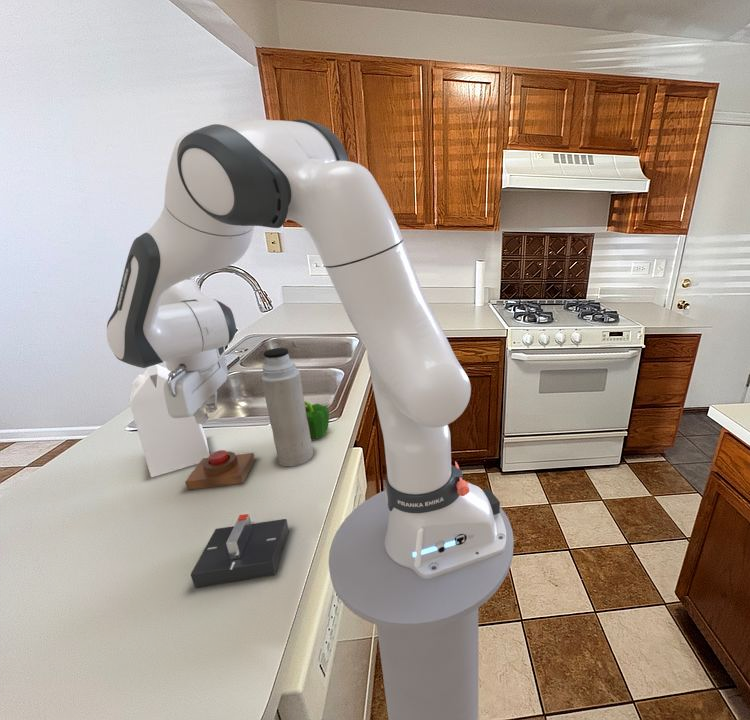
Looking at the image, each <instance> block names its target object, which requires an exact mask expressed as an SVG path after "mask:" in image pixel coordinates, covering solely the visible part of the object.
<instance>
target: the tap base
mask: <svg viewBox="0 0 750 720" xmlns="http://www.w3.org/2000/svg"><path fill="white" fill-rule="evenodd" d="M251 524H252V528H253V531H252V533H251V535H250V538H249V540H248V543H247V545H246V547H245V550H244V552H243V554H242V557H241V558H238V559H230V556H229V552H228V549H227V545H226V542H227V540H228V538H229V536H230V534H231V532H232V530H233V528H234V526H235V525H233V526H232V525H231V526H226V527H218V528H215V529H214V531H213V533H212V534H211V537H210V538H209V540H208V542H207V544H206V545H205V547H204V549H203V550H202V553H201V554H200V556H199V557H198V560H197V562H196V564H195V565H194V567H193V569H192V571H191V573H190V577H191V580H192V583H193V586H194V589H200V588H204V587H212V586H216V585H217V586H218V585H223V584H230V583H234V582H236V583H237V582H240V581H241V582H242V581H246V580H247V581H248V580H252V579H260V578H266V577H272V576H275V575H276V573H277V570H278V567H279V565H280V564H279V563H280V561H281V558H282V554H283V551H284V548H285V545H286V542H287V538H288V535H289V532H290V530H289V524H288V520H287V518H283V519H276V520H275V519H274V520H268V521H267V520H266V521H260V522H254V521H252V520H251Z"/></svg>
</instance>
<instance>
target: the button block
mask: <svg viewBox="0 0 750 720" xmlns="http://www.w3.org/2000/svg"><path fill="white" fill-rule="evenodd" d="M227 453H228V457H229V460H228V461H226V462H225V463H222V464H219V465H211V464H210V460H209V457H208V458H203V459H202V460H201V462H200V463H198V464H196V465H197V466H196V467H195V468H194V470H193V471H192V472H191V473H190V474H189V476H188V477H187V478H186V480H185V481H184V482H185V486H186V489H187V491H188V490H189V491H191V490H198V489H206V488H214V487H222V486H230V485H231V486H232V485H239V484H243V483H244V481H245V480H246V478H247V476H248V475H249V473H250V470H251V469H252V467H253V465H254V463H255V461H256V459H255V454H254V452H248V453H239V454H236V452H233V451H227Z"/></svg>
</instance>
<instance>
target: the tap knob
mask: <svg viewBox="0 0 750 720" xmlns="http://www.w3.org/2000/svg"><path fill="white" fill-rule="evenodd" d="M251 522H252V520H251V517H250V514H249V513H246V514H239V516H238V517H237V520H236V521H235V524H234V525H233V526H234V528H233V530H232V532H231V534H230V536H229V538H228V540H227V542H226V545H227V549H228V552H229V556H230V559H238V558H241V557H242V554H243V552H244V550H245V547H246V545H247V543H248V540H249V538H250V535H251V533H252V531H253V528H252V524H251Z"/></svg>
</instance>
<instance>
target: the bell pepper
mask: <svg viewBox="0 0 750 720" xmlns="http://www.w3.org/2000/svg"><path fill="white" fill-rule="evenodd" d="M304 401H305V408H306V415H307V420H308V425H309V431H310V437H311V441H312V440H319V439H321V438H323V437H324V436H325V435H326V433H327V431H328V428H329V424H330V412H329V411H330V409H329V408H328V407H327V406H326V405H322V404H320V403H314V404H311V403H310V402H309V401H306V400H304Z"/></svg>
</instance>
